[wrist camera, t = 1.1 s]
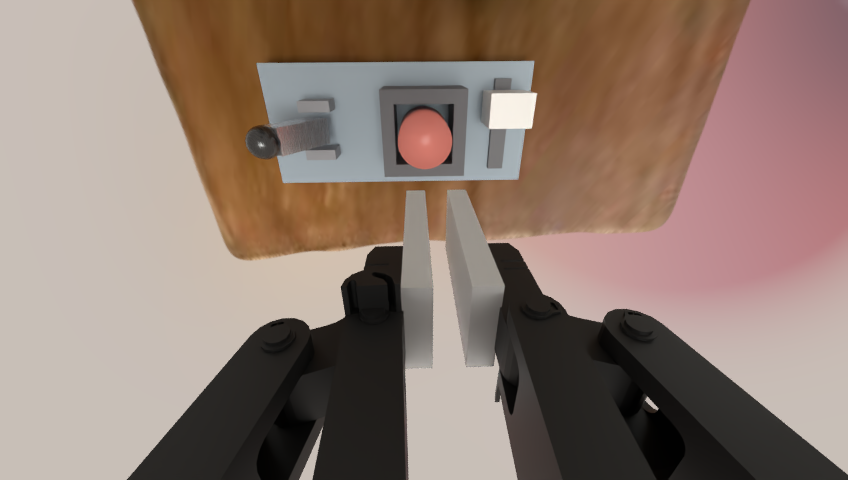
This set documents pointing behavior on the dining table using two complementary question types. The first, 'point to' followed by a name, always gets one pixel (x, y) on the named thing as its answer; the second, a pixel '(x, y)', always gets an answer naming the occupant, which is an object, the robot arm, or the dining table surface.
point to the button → (424, 138)
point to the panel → (394, 117)
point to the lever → (287, 137)
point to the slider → (508, 109)
